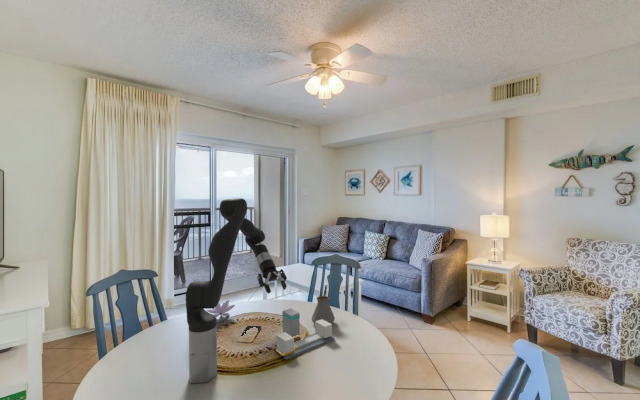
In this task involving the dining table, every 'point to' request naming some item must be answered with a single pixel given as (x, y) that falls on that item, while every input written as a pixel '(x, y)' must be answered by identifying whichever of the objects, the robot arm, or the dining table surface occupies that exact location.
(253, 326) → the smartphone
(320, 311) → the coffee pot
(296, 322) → the block
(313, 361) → the dining table surface
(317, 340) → the rail panel
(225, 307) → the water lily
